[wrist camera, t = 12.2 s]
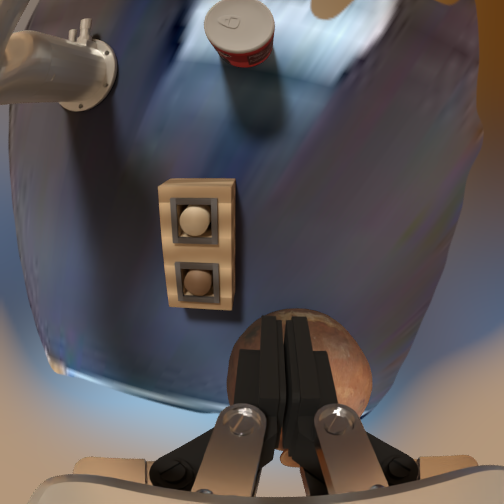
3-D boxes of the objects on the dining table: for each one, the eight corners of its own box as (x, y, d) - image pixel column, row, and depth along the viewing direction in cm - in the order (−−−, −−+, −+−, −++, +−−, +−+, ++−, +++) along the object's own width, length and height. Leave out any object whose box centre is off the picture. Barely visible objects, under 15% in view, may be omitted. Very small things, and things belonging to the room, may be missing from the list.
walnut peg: (192, 252, 51) (183, 271, 45) (216, 253, 51) (210, 272, 45) (193, 274, 53) (185, 294, 46) (217, 275, 52) (211, 296, 46)
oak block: (170, 178, 46) (156, 187, 40) (235, 178, 46) (230, 187, 40) (178, 287, 54) (168, 308, 48) (235, 290, 53) (231, 312, 47)
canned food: (217, 23, 36) (204, -3, 26) (272, 22, 36) (274, -5, 26) (216, 69, 39) (202, 54, 29) (272, 68, 39) (274, 52, 29)
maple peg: (189, 195, 47) (178, 207, 41) (215, 196, 47) (208, 207, 41) (190, 220, 49) (180, 235, 43) (215, 221, 49) (208, 236, 43)
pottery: (227, 290, 53) (203, 405, 31) (360, 285, 52) (411, 391, 29) (237, 381, 62) (226, 485, 40) (345, 377, 61) (368, 476, 38)
